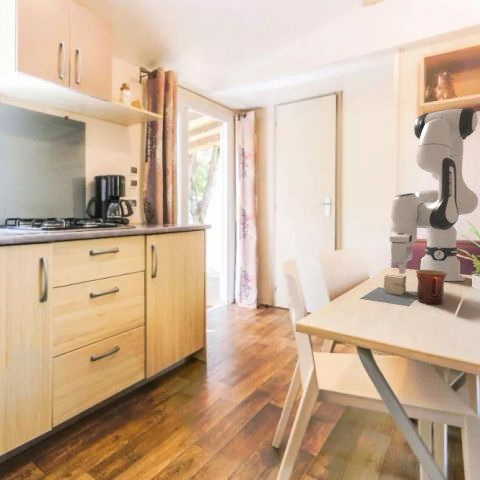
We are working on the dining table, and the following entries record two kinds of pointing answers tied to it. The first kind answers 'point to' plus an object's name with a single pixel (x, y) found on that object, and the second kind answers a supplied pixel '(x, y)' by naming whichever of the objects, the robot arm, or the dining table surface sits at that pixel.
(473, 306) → the dining table surface
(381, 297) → the mat
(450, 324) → the dining table surface
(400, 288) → the letter block
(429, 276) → the mug
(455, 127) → the robot arm
